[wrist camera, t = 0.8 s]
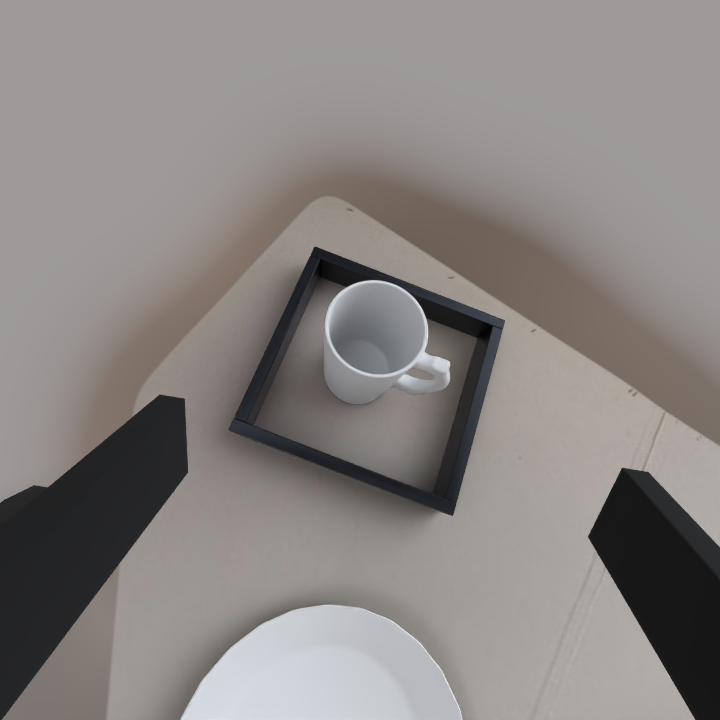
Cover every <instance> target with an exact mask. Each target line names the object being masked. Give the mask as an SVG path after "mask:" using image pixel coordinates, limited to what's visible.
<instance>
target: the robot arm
mask: <svg viewBox="0 0 720 720" xmlns="http://www.w3.org/2000/svg"><path fill="white" fill-rule="evenodd" d="M187 473H188V461H187V439H186V418H185V399H184V398H177V397H171V396H165V395H159V396H157V397H156V398H155V399H154V400H153V401H151V402H150V403H149V404H148V405H147V406H145V407H144V408H143V409H142V410H141V411H139V412H138V413H137V414H136V415H135V416H133V417H132V418H131V419H130V420H129V421H127V422H126V423H125V424H124V425H123V426H121V427H120V428H119V429H118V430H117V431H115V432H114V433H113V434H112V435H111V436H109V437H108V438H107V439H106V440H105V441H103V442H102V443H101V444H100V445H99V446H98V447H96V448H95V449H94V450H92V451H91V452H90V453H89V454H88V455H86V456H85V457H84V458H83V459H82V460H80V461H79V462H78V463H77V464H76V465H74V466H73V467H72V468H71V469H70V470H68V471H67V472H66V473H65V474H64V475H62V476H61V477H60V478H59V479H58V480H56V481H55V482H54V483H53V484H52V485H50V486H49V487H48V488H47V487H41V486H35V485H34V486H32V487H30V488H28V489H26V490H24V491H22V492H20V493H18V494H16V495H14V496H11V497H9V498H7V499H5V500H4V501H2V502H1V503H0V720H2V719H3V717H4V716H5V715H6V713H7V712H8V711H9V709H10V708H11V707H12V705H13V704H14V703H15V701H16V700H17V699H18V697H19V696H20V695H21V693H22V692H23V691H24V689H25V688H26V687H27V685H28V684H29V683H30V681H31V680H32V679H33V677H34V676H35V675H36V673H37V672H38V671H39V670H40V668H41V667H42V666H43V664H44V663H45V661H46V660H47V659H48V658H49V656H50V655H51V654H52V652H53V651H54V650H55V648H56V647H57V646H58V644H59V643H60V642H61V640H62V639H63V638H64V636H65V635H66V634H67V632H68V631H69V630H70V628H71V627H72V626H73V624H74V623H75V622H76V620H77V619H78V618H79V616H80V615H81V614H82V612H83V611H84V609H85V608H86V607H87V605H88V604H89V603H90V602H91V600H92V599H93V598H94V596H95V595H96V594H97V592H98V591H99V590H100V588H101V587H102V586H103V584H104V583H105V582H106V580H107V579H108V578H109V577H110V575H111V574H112V573H113V571H114V570H115V569H116V567H117V566H118V565H119V563H120V562H121V561H122V559H123V558H124V557H125V555H126V554H127V553H128V551H129V550H130V549H131V547H132V546H133V545H134V543H135V542H136V541H137V539H138V538H139V537H140V535H141V534H142V533H143V531H144V530H145V529H146V527H147V526H148V525H149V523H150V522H151V521H152V519H153V518H154V517H155V515H156V514H157V513H158V511H159V510H160V509H161V507H162V506H163V505H164V503H165V502H166V501H167V499H168V498H169V497H170V496H171V494H172V493H173V492H174V490H175V489H176V488H177V486H178V485H179V484H180V482H181V481H182V480H183V478H184V477H185V476H186V474H187ZM588 538H589V539H590V541H591V543H592V544H593V546H594V548H595V550H596V551H597V553H598V555H599V556H600V558H601V560H602V562H603V563H604V565H605V567H606V568H607V570H608V572H609V573H610V575H611V577H612V579H613V580H614V582H615V584H616V585H617V587H618V589H619V590H620V592H621V594H622V596H623V597H624V599H625V601H626V602H627V604H628V606H629V607H630V609H631V611H632V613H633V614H634V616H635V618H636V619H637V621H638V623H639V625H640V626H641V628H642V630H643V631H644V633H645V635H646V636H647V638H648V640H649V642H650V643H651V645H652V647H653V648H654V650H655V652H656V653H657V655H658V657H659V659H660V660H661V662H662V664H663V665H664V667H665V669H666V670H667V672H668V674H669V676H670V677H671V679H672V681H673V682H674V684H675V686H676V687H677V689H678V691H679V693H680V694H681V696H682V698H683V699H684V701H685V703H686V705H687V706H688V708H689V710H690V711H691V713H692V715H693V716H694V718H695V720H720V547H719V546H718V545H717V544H716V543H715V542H714V541H713V540H712V539H711V538H710V536H709V535H708V534H707V533H706V532H705V531H704V530H703V529H702V528H701V527H700V526H699V525H698V524H697V523H696V522H695V521H694V520H693V519H692V518H691V517H690V515H689V514H688V513H687V512H686V511H685V510H684V509H683V508H682V507H681V506H680V505H679V504H678V503H677V502H676V501H675V500H674V499H673V498H672V497H671V496H670V494H669V493H668V492H667V491H666V490H665V489H664V488H663V487H662V486H661V485H660V484H659V483H658V482H657V481H656V480H655V479H654V478H653V477H652V476H651V474H650V473H649V472H645V471H639V470H632V469H626V468H622V469H621V471H620V473H619V475H618V477H617V479H616V481H615V483H614V485H613V487H612V489H611V491H610V493H609V495H608V497H607V499H606V501H605V504H604V506H603V508H602V510H601V512H600V514H599V516H598V518H597V520H596V522H595V524H594V526H593V528H592V530H591V532H590V534H589V536H588Z"/></svg>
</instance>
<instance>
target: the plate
mask: <svg viewBox="0 0 720 720" xmlns="http://www.w3.org/2000/svg"><path fill="white" fill-rule="evenodd" d="M180 720H463V719H462V715H461V711H460V707H459V705H458V703H457V700H456V698H455V696H454V694H453V692H452V690H451V688H450V686H449V684H448V682H447V680H446V678H445V675H444V673H443V671H442V670H441V669H440V667H439V666H438V665H437V663H436V662H435V661H434V660H433V658H432V657H431V656H430V655H429V653H428V652H427V651H426V649H425V648H424V647H423V646H422V644H421V643H420V642H419V641H418V640H416V639H415V638H414V637H413V636H411V635H410V634H409V633H408V632H406V631H405V630H404V629H402V628H401V627H400V626H399V625H397V624H396V623H395V622H393V621H392V620H390V619H387V618H385V617H382V616H380V615H377V614H375V613H373V612H370V611H368V610H365V609H363V608H358V607H349V606H340V605H332V604H326V605H319V606H313V607H306V608H300V609H294V610H292V611H289V612H287V613H285V614H283V615H280V616H278V617H276V618H274V619H271V620H269V621H267V622H264V623H262V624H260V625H259V626H258V627H256V628H255V629H254V630H252V631H251V632H250V633H249V634H247V635H246V636H245V637H243V638H242V639H241V640H239V641H238V642H237V643H235V644H234V645H233V646H231V647H230V648H229V649H228V650H227V651H226V653H225V654H224V655H223V656H222V657H221V658H220V660H219V661H218V662H217V663H216V664H215V665H214V667H213V668H212V669H211V670H210V671H209V672H208V674H207V675H206V676H205V677H204V678H203V679H202V681H201V682H200V684H199V686H198V688H197V690H196V691H195V693H194V695H193V697H192V699H191V700H190V702H189V704H188V706H187V708H186V709H185V711H184V713H183V715H182V717H181V718H180Z"/></svg>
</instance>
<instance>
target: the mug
mask: <svg viewBox="0 0 720 720" xmlns="http://www.w3.org/2000/svg"><path fill="white" fill-rule="evenodd" d="M427 340H428V325H427V320H426V317H425V314H424V312H423V310H422V308H421V306H420V305H419V303H418V302H417V301H416V300H415V298H414V297H413V296H412V295H410V294H409V293H408V292H407V291H405V290H404V289H402V288H401V287H399V286H397V285H394V284H392V283H389V282H385V281H378V280H369V281H362V282H358V283H355V284H353V285H350V286H348V287H347V288H345V289H344V290H342V291H341V292H340V293H339V294H338V295H337V296H336V297H335V298H334V299H333V300H332V302H331V304H330V305H329V308H328V310H327V313H326V318H325V334H324V377H325V381H326V384H327V386H328V388H329V389H330V391H331V392H332V393H333V394H334V395H335V396H336V397H337V398H339V399H340V400H342V401H344V402H347V403H350V404H366V403H369V402H371V401H373V400H375V399H377V398H378V397H379V396H380V395H382V394H383V393H384V392H385V391H386V390H387V389H388V388H390V387H395V388H398V389H400V390H403V391H405V392H407V393H409V394H413V395H415V394H426V393H433V392H438V391H441V390H443V389H445V388H446V387H447V386H448V384H449V382H450V372H449V367H450V362H449V361H447V360H445V359H442V358H440V357H436V356H431V355H428V354H427V353H425V352H424V350H425V348H426V345H427ZM412 368H416V369H420V370H423V371H425V372H427V373H429V374H430V375H432V376H433V377H434V378H435V379H432V380H422V379H417V378H414V377H411V376H409V375H406V374H405V373H406V372H407V371H408V370H409V369H412Z"/></svg>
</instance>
